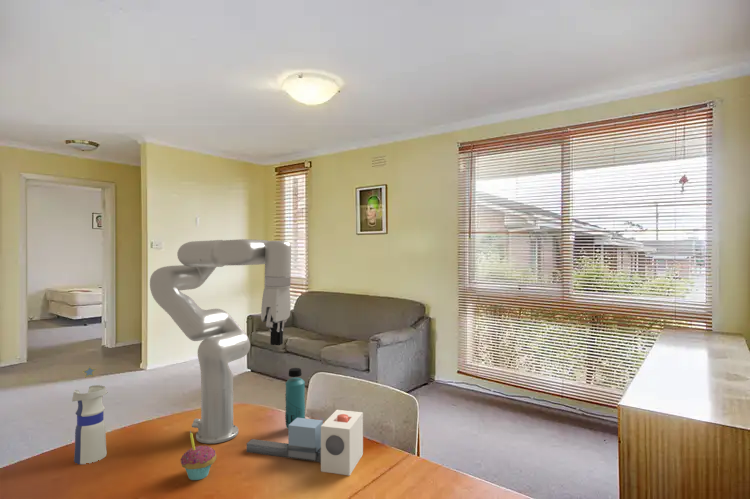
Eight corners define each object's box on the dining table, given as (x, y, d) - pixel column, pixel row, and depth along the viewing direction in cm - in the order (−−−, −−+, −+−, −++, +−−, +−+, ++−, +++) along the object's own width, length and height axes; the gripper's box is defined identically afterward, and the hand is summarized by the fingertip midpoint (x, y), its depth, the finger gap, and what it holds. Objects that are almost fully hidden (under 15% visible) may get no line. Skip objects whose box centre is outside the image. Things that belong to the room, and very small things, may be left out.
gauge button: (335, 443, 117) (335, 417, 117) (339, 438, 120) (339, 413, 120) (346, 444, 116) (346, 418, 116) (349, 439, 119) (349, 414, 119)
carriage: (288, 456, 119) (288, 425, 119) (297, 447, 125) (297, 417, 125) (315, 460, 117) (315, 428, 117) (322, 450, 122) (322, 420, 122)
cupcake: (181, 487, 106) (181, 438, 106) (179, 471, 113) (179, 426, 113) (218, 478, 110) (218, 432, 110) (214, 464, 117) (214, 420, 117)
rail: (246, 452, 124) (246, 443, 124) (252, 447, 127) (252, 439, 127) (327, 463, 118) (327, 454, 118) (331, 458, 120) (331, 449, 120)
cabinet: (320, 472, 113) (320, 426, 113) (336, 450, 125) (336, 409, 125) (349, 476, 111) (349, 429, 111) (362, 454, 123) (362, 412, 123)
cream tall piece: (64, 461, 119) (64, 371, 119) (96, 448, 126) (96, 363, 126) (81, 468, 115) (81, 375, 115) (113, 454, 123) (113, 367, 123)
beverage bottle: (307, 426, 142) (307, 366, 142) (302, 434, 135) (302, 371, 135) (288, 425, 143) (288, 365, 143) (282, 434, 136) (282, 371, 136)
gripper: (278, 280, 134) (277, 338, 135) (252, 284, 120) (251, 349, 120) (300, 281, 133) (299, 340, 133) (276, 285, 118) (275, 351, 118)
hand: (276, 344), depth 126 cm, fingers closed
